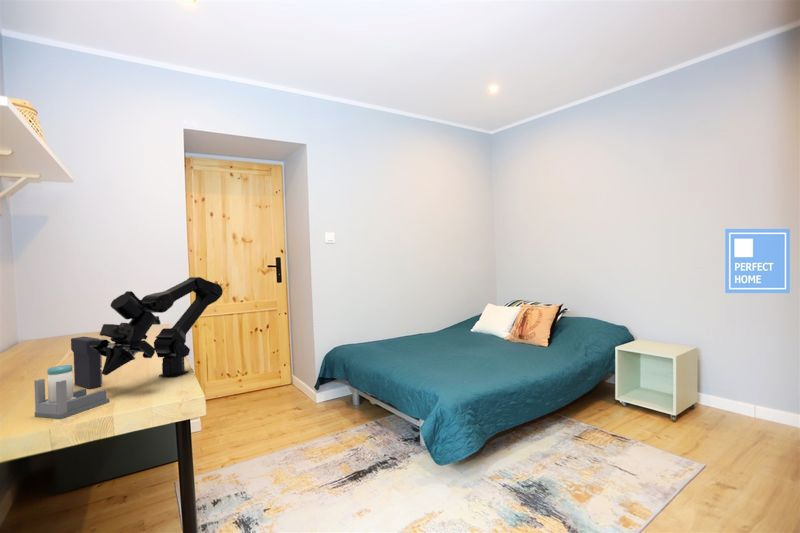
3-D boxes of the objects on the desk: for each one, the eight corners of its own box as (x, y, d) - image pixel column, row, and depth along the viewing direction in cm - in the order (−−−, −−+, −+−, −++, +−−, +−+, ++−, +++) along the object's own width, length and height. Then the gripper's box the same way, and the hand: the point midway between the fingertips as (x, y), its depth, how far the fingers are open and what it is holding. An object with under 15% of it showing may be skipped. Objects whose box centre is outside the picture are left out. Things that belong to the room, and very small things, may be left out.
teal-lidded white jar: (64, 404, 103) (62, 364, 103) (78, 405, 102) (77, 365, 101) (43, 411, 98) (42, 369, 98) (58, 412, 97) (57, 370, 97)
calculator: (104, 386, 123) (102, 338, 123) (87, 390, 119) (86, 340, 119) (88, 381, 128) (86, 335, 128) (72, 385, 125) (70, 338, 125)
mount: (84, 400, 110) (83, 367, 110) (109, 401, 107) (108, 369, 107) (34, 416, 98) (33, 380, 98) (61, 418, 96) (60, 381, 96)
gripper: (94, 312, 118) (56, 358, 107) (144, 312, 113) (109, 360, 103) (120, 333, 126) (86, 378, 115) (168, 334, 121) (137, 381, 110)
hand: (104, 374), depth 111 cm, fingers closed
